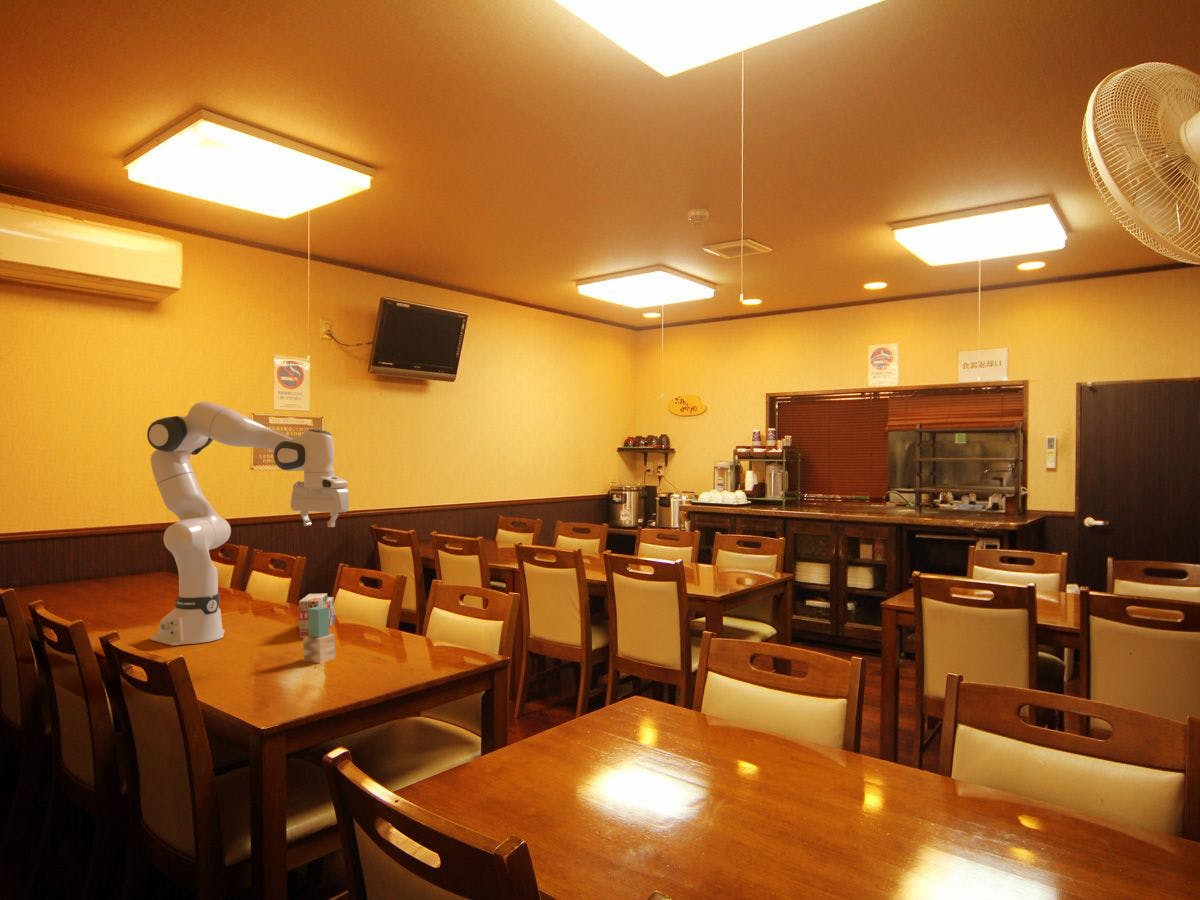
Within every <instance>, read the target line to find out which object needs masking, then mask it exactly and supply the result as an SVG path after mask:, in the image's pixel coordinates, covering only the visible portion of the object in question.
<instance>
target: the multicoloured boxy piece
mask: <svg viewBox="0 0 1200 900" xmlns="http://www.w3.org/2000/svg"><path fill="white" fill-rule="evenodd" d="M317 606H321V607H329V628H330V627H331V626H333V625H334V624H335V597H334V596H328V593H325V592H324V593H308V594H307V595H305V597H303V598H301V599H300V600H299V601H298V639H303V637H306V636H308V609H309V608H313V607H317Z"/></svg>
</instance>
